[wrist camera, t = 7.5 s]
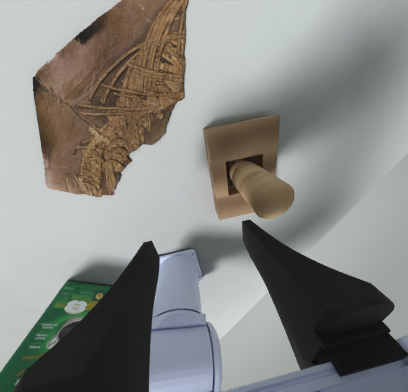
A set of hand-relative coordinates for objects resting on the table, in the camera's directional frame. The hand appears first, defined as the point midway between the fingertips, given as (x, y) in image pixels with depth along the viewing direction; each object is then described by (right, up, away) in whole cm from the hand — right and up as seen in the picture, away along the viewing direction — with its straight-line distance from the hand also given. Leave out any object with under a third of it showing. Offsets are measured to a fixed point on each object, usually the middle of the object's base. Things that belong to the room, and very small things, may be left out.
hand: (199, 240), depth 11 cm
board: (+5, +7, +9) cm, 12 cm away
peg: (+5, +7, +9) cm, 12 cm away
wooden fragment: (-9, +13, +4) cm, 17 cm away
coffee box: (-21, -14, +16) cm, 30 cm away
